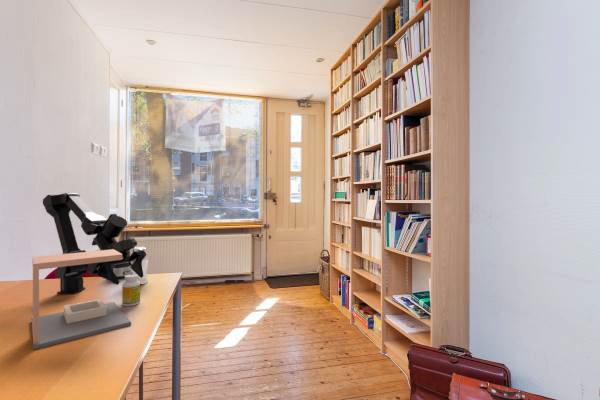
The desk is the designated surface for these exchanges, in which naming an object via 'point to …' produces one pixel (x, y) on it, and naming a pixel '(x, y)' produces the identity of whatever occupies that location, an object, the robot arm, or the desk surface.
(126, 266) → the ink bottle
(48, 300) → the desk surface
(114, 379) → the desk surface
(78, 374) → the desk surface
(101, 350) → the desk surface
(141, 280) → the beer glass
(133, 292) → the supplement bottle
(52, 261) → the awning socket
